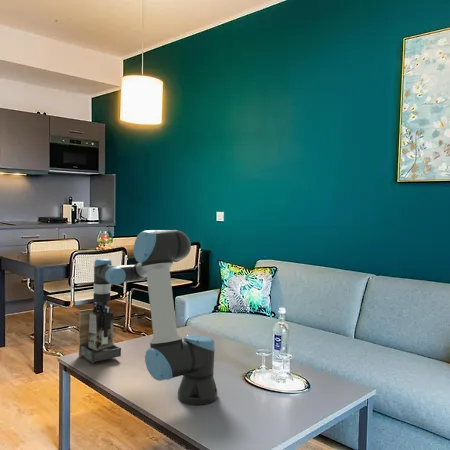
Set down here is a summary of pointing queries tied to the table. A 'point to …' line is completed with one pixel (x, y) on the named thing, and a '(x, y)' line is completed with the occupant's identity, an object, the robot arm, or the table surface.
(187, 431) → the table surface
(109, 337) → the coffee box
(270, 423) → the table surface
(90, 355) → the grey and wood box
